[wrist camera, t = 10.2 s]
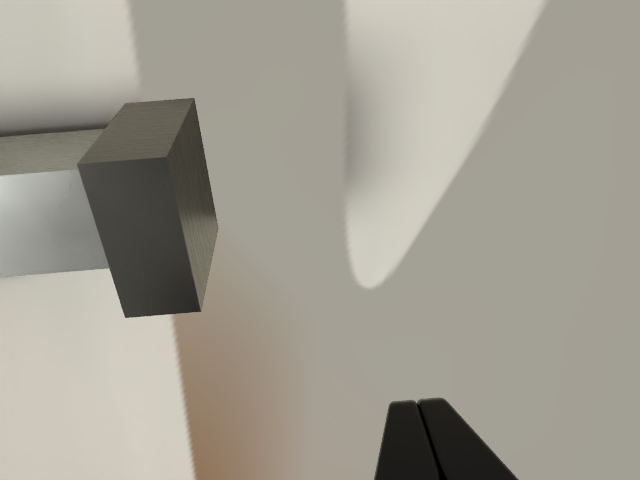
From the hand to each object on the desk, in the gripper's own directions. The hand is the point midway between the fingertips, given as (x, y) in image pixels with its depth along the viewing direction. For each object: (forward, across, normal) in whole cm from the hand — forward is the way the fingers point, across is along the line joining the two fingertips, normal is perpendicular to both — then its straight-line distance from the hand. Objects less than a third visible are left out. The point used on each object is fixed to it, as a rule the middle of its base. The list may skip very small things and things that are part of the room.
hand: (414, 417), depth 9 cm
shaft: (+10, +10, 0) cm, 14 cm away
